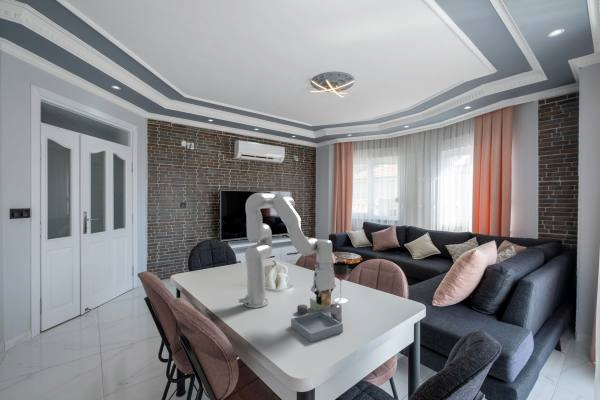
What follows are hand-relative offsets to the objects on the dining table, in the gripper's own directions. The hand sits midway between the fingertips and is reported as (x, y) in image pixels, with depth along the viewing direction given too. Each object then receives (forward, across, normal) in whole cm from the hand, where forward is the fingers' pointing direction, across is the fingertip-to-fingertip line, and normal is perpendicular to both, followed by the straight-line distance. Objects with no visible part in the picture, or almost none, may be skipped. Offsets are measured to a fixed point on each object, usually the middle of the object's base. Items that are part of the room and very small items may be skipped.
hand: (323, 302), depth 132 cm
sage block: (+6, +2, +8) cm, 10 cm away
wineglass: (+6, +19, +9) cm, 21 cm away
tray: (+6, -11, -11) cm, 17 cm away
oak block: (+1, 0, 0) cm, 1 cm away
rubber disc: (+6, -7, +7) cm, 12 cm away
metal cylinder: (+5, +1, -9) cm, 11 cm away
